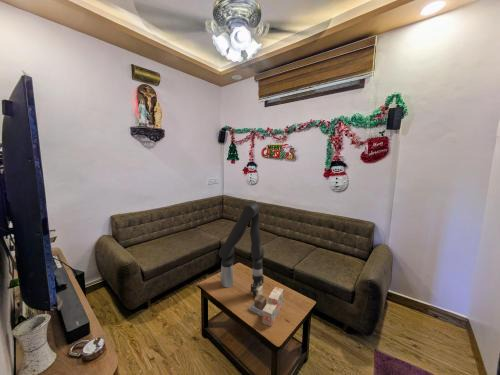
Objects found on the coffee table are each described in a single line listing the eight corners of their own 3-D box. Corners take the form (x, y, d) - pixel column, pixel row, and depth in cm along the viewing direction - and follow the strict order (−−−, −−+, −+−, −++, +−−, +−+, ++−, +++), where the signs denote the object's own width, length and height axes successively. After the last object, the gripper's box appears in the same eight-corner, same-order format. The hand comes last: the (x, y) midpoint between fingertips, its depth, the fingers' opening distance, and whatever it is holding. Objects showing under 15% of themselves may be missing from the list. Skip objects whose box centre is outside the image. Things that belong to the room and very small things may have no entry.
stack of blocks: (271, 327, 127) (271, 309, 125) (262, 323, 130) (262, 306, 128) (283, 304, 146) (283, 289, 144) (274, 301, 149) (275, 286, 146)
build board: (248, 309, 141) (248, 307, 141) (258, 298, 151) (258, 297, 151) (262, 316, 135) (262, 315, 135) (271, 305, 145) (271, 304, 145)
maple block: (251, 294, 155) (251, 287, 154) (256, 290, 160) (256, 283, 159) (258, 298, 152) (258, 290, 151) (262, 293, 157) (262, 286, 156)
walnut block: (254, 306, 142) (254, 298, 141) (258, 301, 147) (259, 293, 146) (261, 310, 139) (261, 302, 138) (266, 305, 144) (266, 297, 142)
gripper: (258, 266, 161) (258, 285, 164) (247, 275, 149) (247, 296, 152) (266, 269, 157) (266, 289, 160) (256, 279, 145) (256, 300, 148)
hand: (257, 292), depth 156 cm, fingers open, 7 cm apart
